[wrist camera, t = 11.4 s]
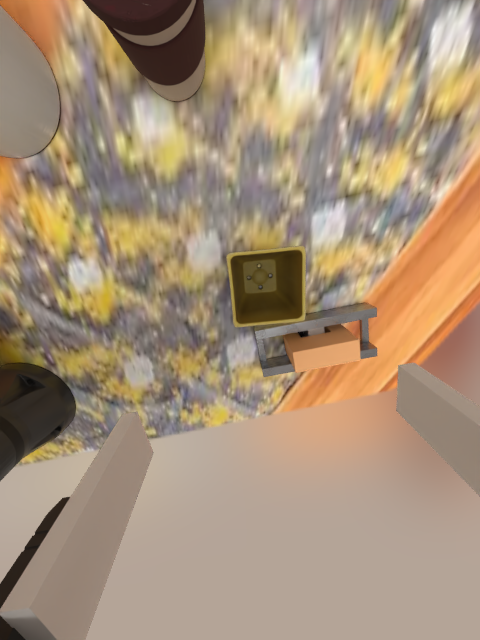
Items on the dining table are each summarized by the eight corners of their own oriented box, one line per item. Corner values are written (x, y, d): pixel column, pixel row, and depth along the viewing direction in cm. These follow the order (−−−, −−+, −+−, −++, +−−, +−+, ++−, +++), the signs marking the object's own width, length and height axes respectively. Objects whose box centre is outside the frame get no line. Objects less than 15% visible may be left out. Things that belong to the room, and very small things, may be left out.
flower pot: (289, 302, 37) (306, 321, 28) (234, 308, 37) (233, 328, 28) (288, 244, 34) (306, 245, 25) (228, 249, 34) (225, 252, 25)
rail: (261, 367, 40) (263, 377, 37) (253, 324, 38) (254, 331, 35) (367, 347, 39) (377, 356, 37) (365, 302, 37) (376, 307, 34)
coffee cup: (227, 101, 28) (220, -38, 14) (151, 128, 29) (71, 21, 15) (200, -10, 25) (157, -330, 11) (116, 23, 26) (-29, -239, 12)
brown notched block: (285, 350, 39) (295, 372, 33) (282, 333, 38) (292, 352, 32) (339, 339, 39) (360, 360, 32) (337, 322, 38) (359, 339, 31)
